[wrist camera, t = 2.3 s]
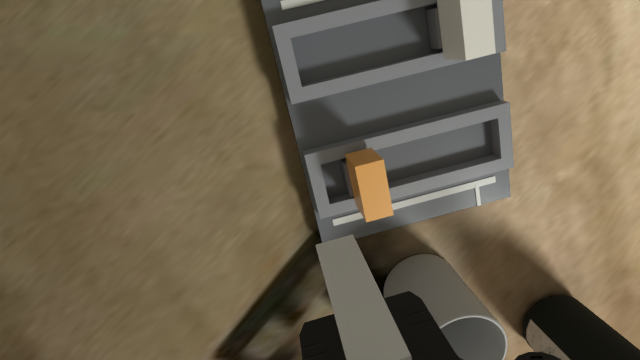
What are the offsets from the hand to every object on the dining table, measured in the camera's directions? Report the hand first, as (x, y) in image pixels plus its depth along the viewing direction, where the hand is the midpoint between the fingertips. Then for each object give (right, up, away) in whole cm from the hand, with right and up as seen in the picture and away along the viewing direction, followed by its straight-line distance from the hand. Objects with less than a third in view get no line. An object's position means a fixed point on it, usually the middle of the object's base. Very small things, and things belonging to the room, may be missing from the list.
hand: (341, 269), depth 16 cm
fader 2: (+10, +17, +20) cm, 28 cm away
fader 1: (+3, +4, +23) cm, 23 cm away
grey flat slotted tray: (+6, +12, +23) cm, 27 cm away
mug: (+9, -10, +31) cm, 34 cm away
